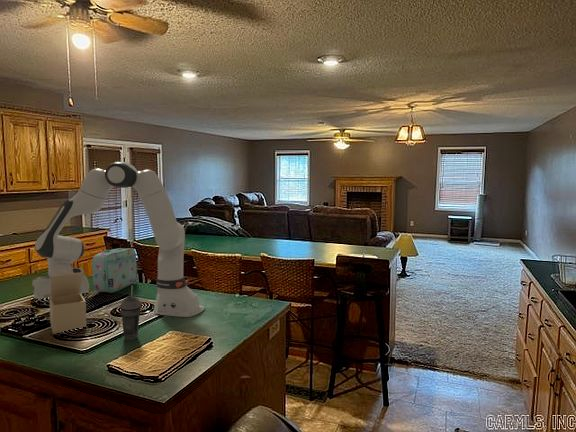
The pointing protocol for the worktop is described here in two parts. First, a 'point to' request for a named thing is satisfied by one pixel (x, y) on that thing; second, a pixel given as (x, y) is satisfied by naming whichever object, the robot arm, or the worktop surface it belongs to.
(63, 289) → the lid
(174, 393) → the worktop surface
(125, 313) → the beverage cup
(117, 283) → the lunch box
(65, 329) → the mailer box
